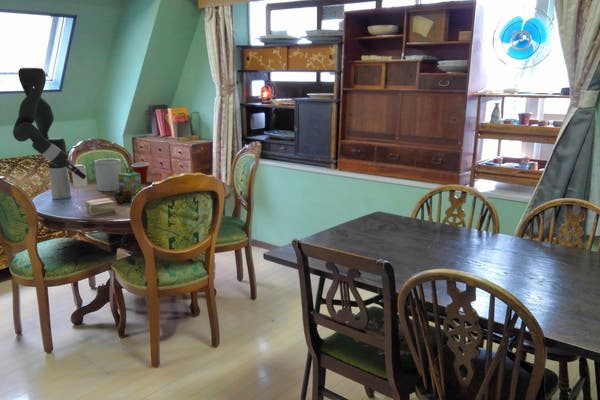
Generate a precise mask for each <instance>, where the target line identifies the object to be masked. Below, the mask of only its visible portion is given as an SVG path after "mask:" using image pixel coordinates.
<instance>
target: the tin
mask: <svg viewBox="0 0 600 400" xmlns="http://www.w3.org/2000/svg"><path fill="white" fill-rule="evenodd" d="M74 165H75V166H76V167H77V169H78V170H80V171H81V172H82V173H83V174H84V175H86V177H85V178H84V179H82V178H81V177H79V176H78V175H76V174H75V173H74V172H76V171H77V169H75V170H74V172H71V175H72V176H71V178H72V185H73V186H74V187H75V188H78V187H80V188H81V187H88V186H89V185H88V176H87V168H86V166H85V165H84V164H74Z"/></svg>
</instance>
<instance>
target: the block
mask: <svg viewBox="0 0 600 400" xmlns="http://www.w3.org/2000/svg"><path fill="white" fill-rule="evenodd" d="M115 206H116V205H115V201H113V200H112V199H111V198H109V197H105V198H97V199H96V198H95V199H89V200H85V208H86V211H87V212H88V213H89V214H90V215H91V216H95V215H102V214H108V213H115V212H116V207H115Z"/></svg>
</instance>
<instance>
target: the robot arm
mask: <svg viewBox="0 0 600 400" xmlns="http://www.w3.org/2000/svg"><path fill="white" fill-rule="evenodd" d="M18 79H19V82H20V83H19V84H20V85H21V88H22V89H23V91H24V94H25V97H24V98H23V100H22V101H21V103H20V106H19V108H18V109H19V110H18V115H17V118H16V121H15V124H14V126H13V129H12V134H13V135H12V136H13V137H14V139H15V140H16V141H18V142H26V141H28V140H29V139H30V141H31V142H32V144H31V146H32V148H33V149H34V150H35V151H36V152H38V153H39V154H41V155H42V156H43V157H44V158H45V159H46V160H47V161H49V162H48V163H47V165H48V166H47V167H48V173H49V181H50V189H51V197H52V199H53V200H64V199H69V198H70V197H71V195H72V193H71V184H70V179H69V172H71V173H72V172H74V170H75V169H77V167H76V166H75V165H76V164H73V162H72V161H70V160H68V157H69V155H68V154H67V145H66V141H65V139H64V138H62V137H49V131H50V128H51V126H52V125H53V123H54V120H55V118H54V113H53V110H52V107H51V106H50V104H49V103H48V102H47V101H46V100H45V99H44V98H43V97H42V94H43V91H44V88H45V85H46V83H47V76H46V72H45V70H44V69H43V68H41V67H20V68H19V70H18ZM34 122H35V125H36V126H35V125H34V124H33V123H34ZM68 171H69V172H68ZM74 173H75V174H76V175H78V176H79V177H81V178H82V179H84V178H85V177H86V175H87V174H86V175H84V174H83V173H82V172H81V171H80V170H78V169H77V171H76V172H74Z"/></svg>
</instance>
